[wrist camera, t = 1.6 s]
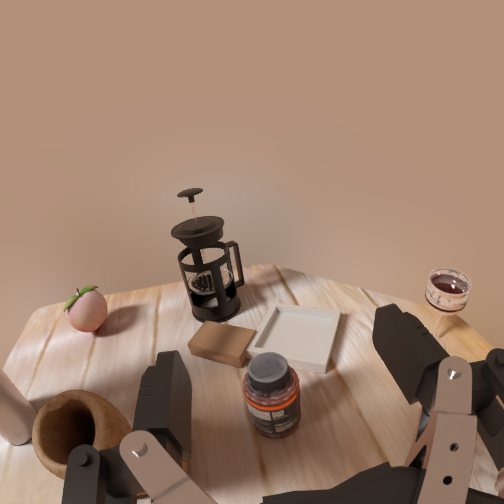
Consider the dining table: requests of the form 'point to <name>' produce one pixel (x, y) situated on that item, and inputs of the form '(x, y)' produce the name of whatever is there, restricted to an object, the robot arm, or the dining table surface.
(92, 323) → the decorative fruit
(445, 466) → the robot arm
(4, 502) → the dining table surface
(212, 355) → the brown block
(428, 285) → the wineglass
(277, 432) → the supplement bottle
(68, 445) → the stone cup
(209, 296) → the french press
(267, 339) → the tray
